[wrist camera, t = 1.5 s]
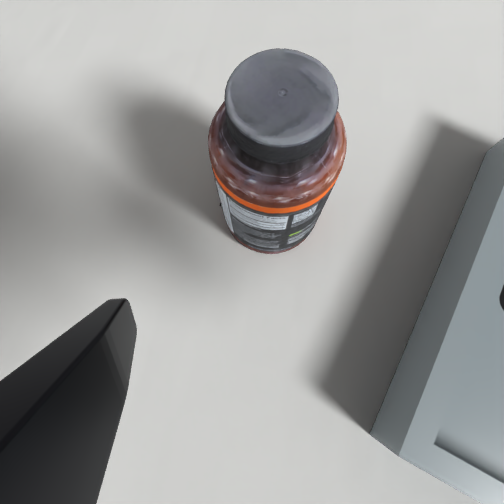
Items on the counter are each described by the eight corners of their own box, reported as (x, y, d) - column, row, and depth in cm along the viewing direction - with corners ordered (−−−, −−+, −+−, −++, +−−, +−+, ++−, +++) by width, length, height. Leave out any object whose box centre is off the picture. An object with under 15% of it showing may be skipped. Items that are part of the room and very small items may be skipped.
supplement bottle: (256, 156, 24) (257, -3, 13) (331, 199, 23) (401, 68, 12) (206, 225, 23) (161, 113, 12) (284, 274, 22) (315, 202, 11)
